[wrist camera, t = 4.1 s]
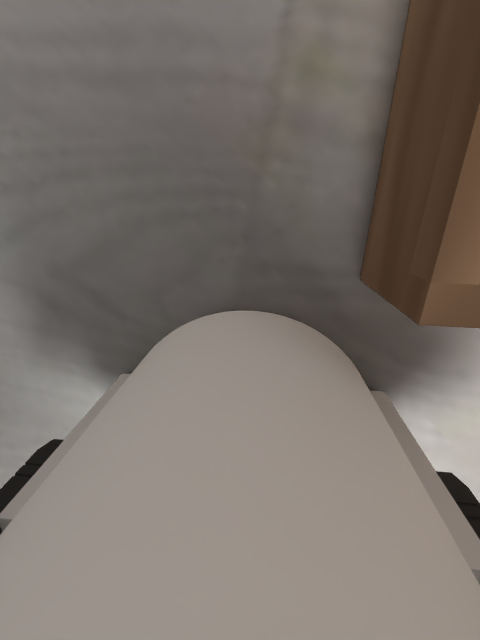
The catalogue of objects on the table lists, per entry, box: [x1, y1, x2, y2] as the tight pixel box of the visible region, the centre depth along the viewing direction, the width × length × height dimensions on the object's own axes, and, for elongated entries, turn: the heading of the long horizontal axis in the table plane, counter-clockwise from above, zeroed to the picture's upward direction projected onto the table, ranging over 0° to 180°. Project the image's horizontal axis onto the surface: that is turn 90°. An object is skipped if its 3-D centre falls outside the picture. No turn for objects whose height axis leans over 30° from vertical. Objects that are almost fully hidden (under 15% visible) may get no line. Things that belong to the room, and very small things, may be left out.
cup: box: [0, 311, 480, 640], centre depth 9 cm, size 10×10×10 cm
